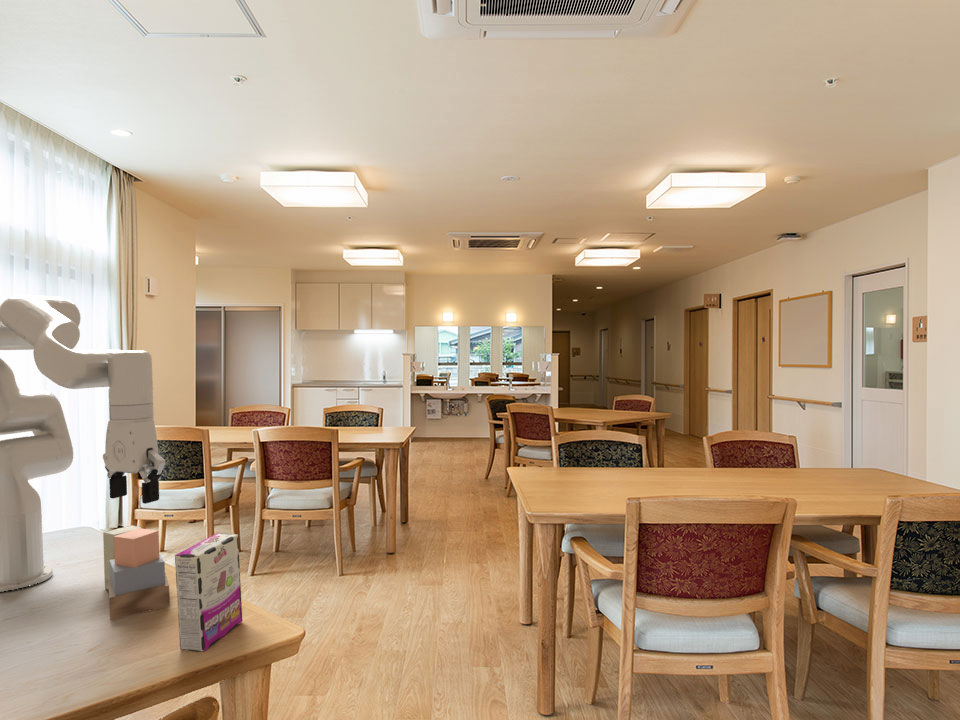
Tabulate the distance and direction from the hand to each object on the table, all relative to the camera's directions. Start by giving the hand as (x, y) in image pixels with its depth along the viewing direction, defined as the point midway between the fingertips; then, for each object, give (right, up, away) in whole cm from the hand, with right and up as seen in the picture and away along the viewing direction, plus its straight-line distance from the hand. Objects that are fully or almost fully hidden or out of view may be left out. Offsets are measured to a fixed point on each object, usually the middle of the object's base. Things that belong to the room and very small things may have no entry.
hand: (134, 499), depth 118 cm
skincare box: (-8, -21, +10) cm, 25 cm away
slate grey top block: (0, -17, +1) cm, 17 cm away
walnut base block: (0, -21, +1) cm, 21 cm away
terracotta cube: (0, -12, 0) cm, 12 cm away
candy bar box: (+21, -21, -13) cm, 33 cm away
